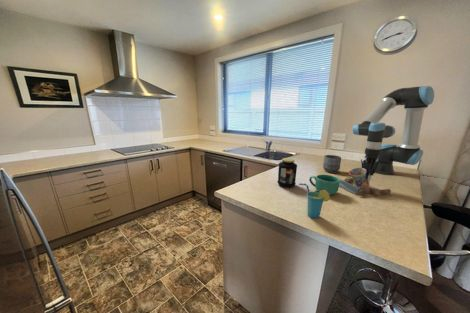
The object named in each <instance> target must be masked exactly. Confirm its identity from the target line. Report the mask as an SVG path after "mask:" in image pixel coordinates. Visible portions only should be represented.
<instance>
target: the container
mask: <svg viewBox="0 0 470 313" xmlns="http://www.w3.org/2000/svg"><path fill="white" fill-rule="evenodd" d="M297 168H298V164H297V163H295V159H294V158H291V157H283V158H282V159H281V162H279V163H278V173H277V184H278V185H279V186H281V187H285V188H292V187H294V186H295V185H296V184H297V183H296V180H297V178H296V177H297V171H298V170H297Z"/></svg>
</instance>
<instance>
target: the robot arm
mask: <svg viewBox="0 0 470 313" xmlns="http://www.w3.org/2000/svg"><path fill="white" fill-rule="evenodd" d="M434 98H435V91H434V89H433V87H432V86H429V85H421V86H412V87H402V88H398V89H395V90H393V91H391V92H390V93H388V94H386V95H385V96H384V97H383V98H382V99H381V100H380V103H379V104H378V105H377V106H376V107H375V108H374V110H372V111H371V113H370V114H369V115H368V116H367V117H366V118H365V119H364V120H362V122H361V123H356V124H354V125H353V126H352V129H351V130H352V134H353V135H355V136H364V137H367V138H366V144H365V145H366V146H365V149H364V154H365V155H364V158H363V159H360V162H361V168H364V169H366V170H367V173H366V180H367V181H368V182H369V184H370V181H371V178H372V176H374V174H380V175H394V172H395V169H394V165H393V164H394V162H395V163H400V164H405V165H410V166H414V165H415V166H416V165H417V164H418V163H419V162H420V161H421V159H422V157H423V155H424V150H422V149H421V146H420V144H419V139H420V133H421V129H422V122H423V117H424V111H425V110H426V109H428V107H429V105H432V103H433V102H434V100H435V99H434ZM398 106H404V107H403V109H404V110H405V111H406V112H405V116H404V117H405V118H404V123H403V125H404V126H403V131H402V137H401V142H400V143H399V144H398V145H397V144H396V143H383V139H388V138H391V137H393V136H394V135H395V134H396V128H395V127H394V126H393V125H386V123H385V122H380V121H381V120H382V119H383V118H384V117H385V116H386V115H387V113H389V111H390V110H392V109H394V108H395V107H398Z"/></svg>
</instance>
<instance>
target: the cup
mask: <svg viewBox="0 0 470 313" xmlns="http://www.w3.org/2000/svg"><path fill="white" fill-rule="evenodd" d="M298 186H306V189H307V193H306V196H307V202H306V203H307V204H306V205H307V206H306V208H307V209H306V210H307V211H306V212H307V214H308V215H307V217H308V216H309V218H310V217H311V218H310V219H313V218H316V219H315V220H318V219H319V218H320V215H321V212H322V208H323V204H324V202H328V201H329V200H330V199H331V195H329V193H328V192H327V191H326V190H320V192H319V191H310V188H309V185H308V184H307V183H298Z"/></svg>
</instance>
